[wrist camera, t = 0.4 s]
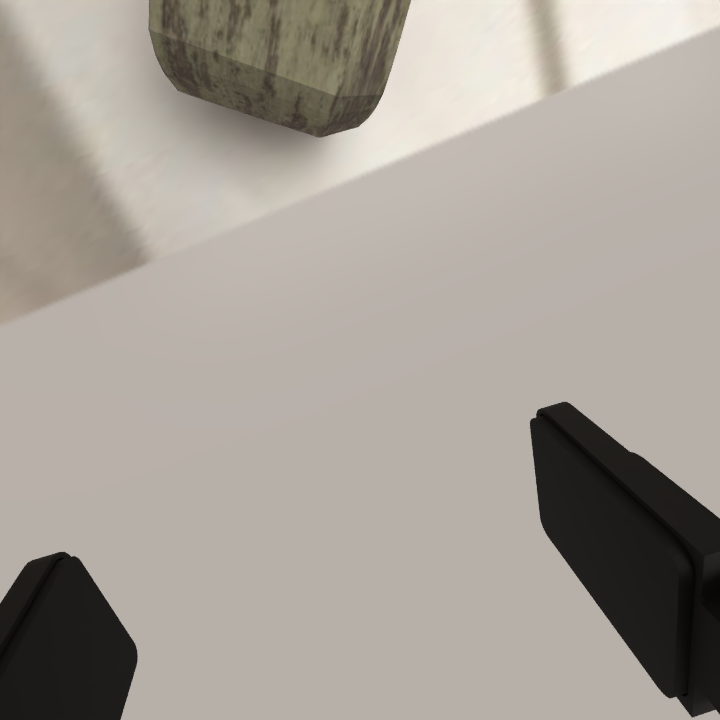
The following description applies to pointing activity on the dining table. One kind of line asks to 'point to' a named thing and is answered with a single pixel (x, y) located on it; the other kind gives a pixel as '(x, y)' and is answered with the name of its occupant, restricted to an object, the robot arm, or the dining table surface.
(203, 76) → the tabletop clock
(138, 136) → the dining table surface
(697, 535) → the robot arm
